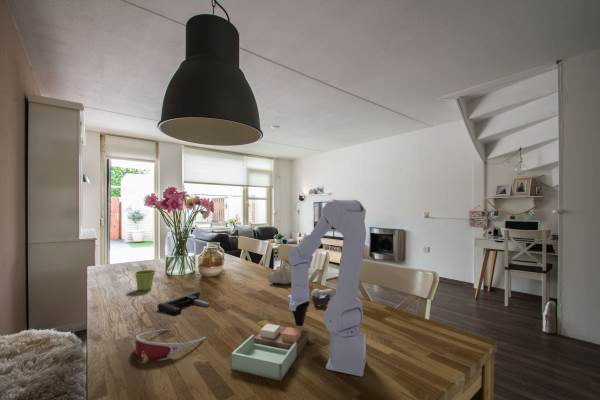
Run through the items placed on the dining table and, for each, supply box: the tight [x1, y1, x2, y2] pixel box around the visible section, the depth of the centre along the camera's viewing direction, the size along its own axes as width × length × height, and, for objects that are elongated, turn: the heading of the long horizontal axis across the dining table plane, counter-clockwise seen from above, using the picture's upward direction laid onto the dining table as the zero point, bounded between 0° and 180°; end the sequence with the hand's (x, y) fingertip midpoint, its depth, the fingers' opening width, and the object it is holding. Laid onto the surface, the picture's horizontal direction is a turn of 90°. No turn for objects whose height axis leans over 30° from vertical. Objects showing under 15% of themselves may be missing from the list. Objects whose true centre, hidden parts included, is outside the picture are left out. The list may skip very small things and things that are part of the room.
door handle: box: [156, 290, 210, 316], centre depth 114 cm, size 3×20×16 cm
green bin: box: [230, 334, 298, 382], centre depth 72 cm, size 14×11×4 cm
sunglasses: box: [134, 328, 207, 362], centre depth 81 cm, size 17×17×5 cm
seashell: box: [267, 264, 291, 285], centre depth 148 cm, size 10×15×10 cm
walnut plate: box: [254, 326, 309, 356], centre depth 83 cm, size 14×10×2 cm
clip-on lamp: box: [309, 288, 335, 308], centre depth 119 cm, size 12×6×18 cm
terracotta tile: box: [282, 326, 302, 342], centre depth 81 cm, size 4×4×2 cm
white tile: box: [260, 323, 281, 339], centre depth 83 cm, size 4×4×2 cm
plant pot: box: [134, 269, 157, 292], centre depth 137 cm, size 9×9×9 cm
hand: (299, 325), depth 88 cm, fingers closed
